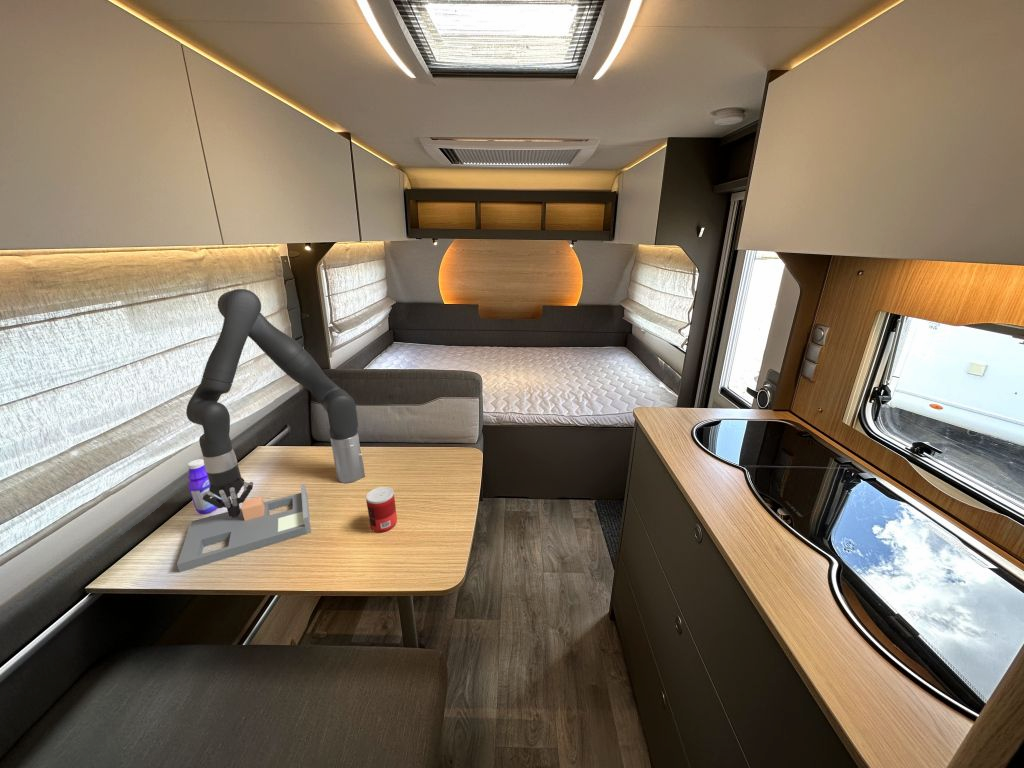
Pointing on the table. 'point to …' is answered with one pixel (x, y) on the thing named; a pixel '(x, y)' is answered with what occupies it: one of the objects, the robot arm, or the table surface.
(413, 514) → the table surface
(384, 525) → the canned food
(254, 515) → the block
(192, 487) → the bottle
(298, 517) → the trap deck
